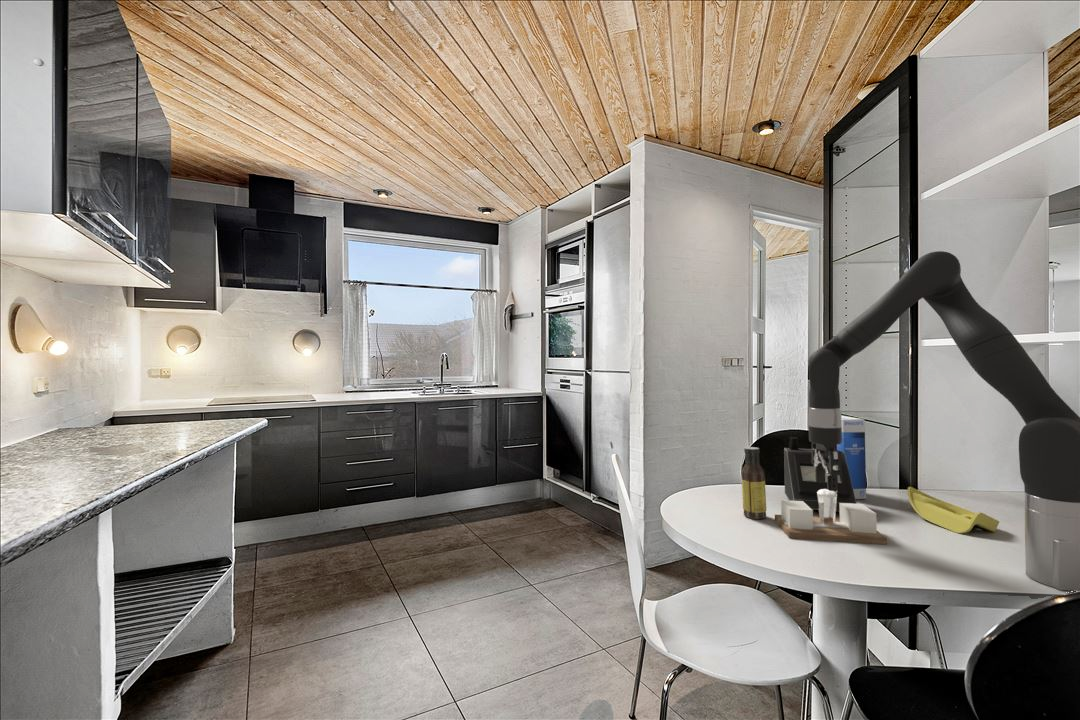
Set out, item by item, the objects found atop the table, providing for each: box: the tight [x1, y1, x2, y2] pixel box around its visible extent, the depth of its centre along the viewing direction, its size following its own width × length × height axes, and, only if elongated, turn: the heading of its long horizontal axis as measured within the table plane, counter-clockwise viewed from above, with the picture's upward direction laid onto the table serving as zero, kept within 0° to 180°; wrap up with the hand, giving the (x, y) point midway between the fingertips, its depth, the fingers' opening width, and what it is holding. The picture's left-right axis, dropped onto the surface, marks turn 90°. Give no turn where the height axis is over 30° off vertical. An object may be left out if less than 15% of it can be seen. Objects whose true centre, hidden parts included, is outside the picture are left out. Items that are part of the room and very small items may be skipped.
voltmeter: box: [783, 436, 858, 512], centre depth 146 cm, size 16×16×20 cm
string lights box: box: [837, 414, 867, 500], centre depth 159 cm, size 13×8×26 cm, turn 1°
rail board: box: [774, 514, 888, 545], centre depth 125 cm, size 14×22×2 cm, turn 77°
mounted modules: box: [780, 499, 878, 533], centre depth 125 cm, size 8×20×5 cm, turn 77°
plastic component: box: [907, 486, 1000, 535], centre depth 131 cm, size 20×7×10 cm
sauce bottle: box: [741, 446, 767, 520], centre depth 138 cm, size 6×6×20 cm
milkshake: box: [817, 489, 837, 526], centre depth 125 cm, size 4×5×10 cm
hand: (826, 486), depth 125 cm, fingers open, 8 cm apart
